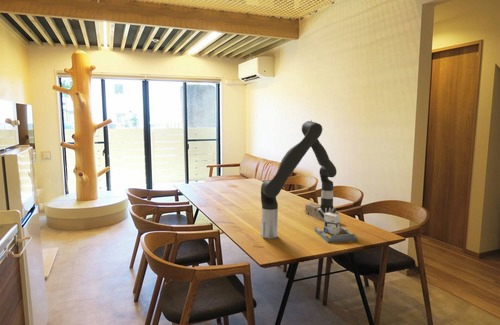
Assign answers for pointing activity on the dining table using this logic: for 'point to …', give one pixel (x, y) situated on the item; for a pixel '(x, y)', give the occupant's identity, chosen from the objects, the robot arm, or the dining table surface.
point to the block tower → (315, 211)
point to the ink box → (331, 223)
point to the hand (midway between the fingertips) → (326, 223)
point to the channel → (337, 236)
